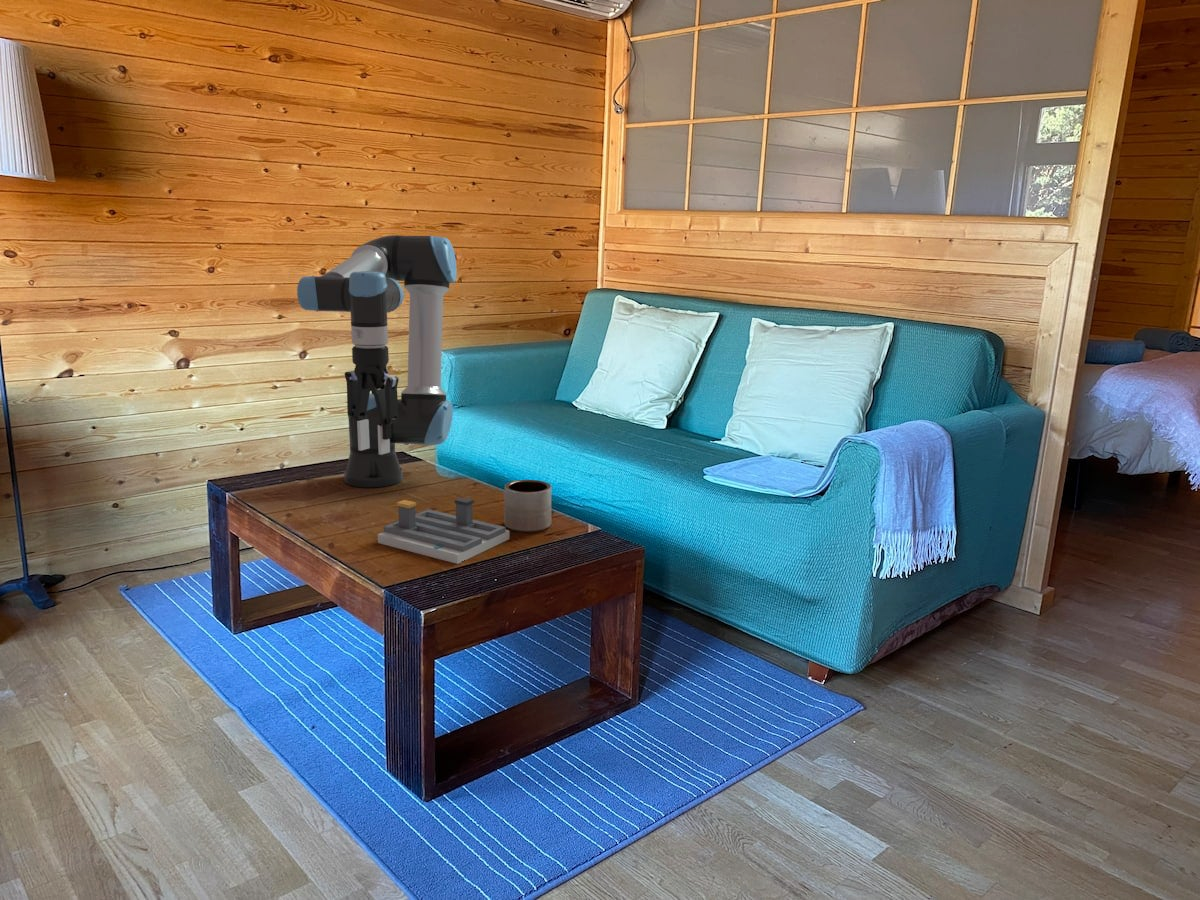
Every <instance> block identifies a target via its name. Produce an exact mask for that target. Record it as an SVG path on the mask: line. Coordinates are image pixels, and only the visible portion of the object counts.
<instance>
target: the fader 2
mask: <svg viewBox="0 0 1200 900" xmlns="http://www.w3.org/2000/svg"><path fill="white" fill-rule="evenodd" d="M474 503H475V502H474V499H470V498H466V497H459V498H457V499H454V504H455V516H456V523H454V524H457V525H462V526H466V527H470V528H475V524H473V520H474V519H473V518H474V517H473V504H474Z"/></svg>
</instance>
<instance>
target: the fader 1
mask: <svg viewBox="0 0 1200 900" xmlns="http://www.w3.org/2000/svg"><path fill="white" fill-rule="evenodd" d="M396 506H397V508H398V510H397V511H398V521H399V526H397V527H400V528H405V529H409V530H413V531H418V527H416V520H415V514H416V506H417V502H415V501H412V500H407V499H403V500H400V501H397V502H396Z"/></svg>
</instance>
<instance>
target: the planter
mask: <svg viewBox="0 0 1200 900" xmlns="http://www.w3.org/2000/svg"><path fill="white" fill-rule="evenodd" d="M503 514H504V517H503V518H504V519H503V522H504V525H505V526H504V527H506V528H508V529H509V530H511V531H515V532H519V533H536V532H541V531H545V530H546V529H548V528H549V527H550V526H551V525H552V485H551V484H550V483H548V482H547V481H543V480H538V479H519V480H512V481H510V482H508V483H506V484H505V485H504V513H503Z"/></svg>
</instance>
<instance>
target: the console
mask: <svg viewBox="0 0 1200 900" xmlns="http://www.w3.org/2000/svg"><path fill="white" fill-rule="evenodd" d="M415 520H416V527H418V531H413V530H409V529H405V528H400V527H397V526H399V520H397V521H394V522H392V523H390V524H387V525H384V526H383V532H380V533H378V534H377V544H381V545H384V546H388V547H392V548H395V549H400V550H403V551H407V552H411V553H415V554H419V555H423V556H427V557H430V558H434V559H438V560H442V561H445V562H449V563H453V564H460V563H463V562H465V561H468V559H471V558H473V557H475V556H476V555H477V556H478V555H479V554H482V553H483V552H485V551H487V550H489V549H492V548H494V547H496V546H498V545H500V544H502V543H504V542H506V541H508V540H510V529H509V530H508V529H506V528H507V527H506V526H502V525H497V524H495V523H494V524H493V523H489V522H485V521H481V520H476V519H473V524H475V528H470V527H466V526H462V525H457V524H454V523H456V514H455V515H454V514H450V513H445V512H443V511H437V510H433V509H430V508H429V509H426V510H423V511H421V512H417V513H415ZM464 560H465V561H464ZM462 561H463V562H462Z"/></svg>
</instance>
